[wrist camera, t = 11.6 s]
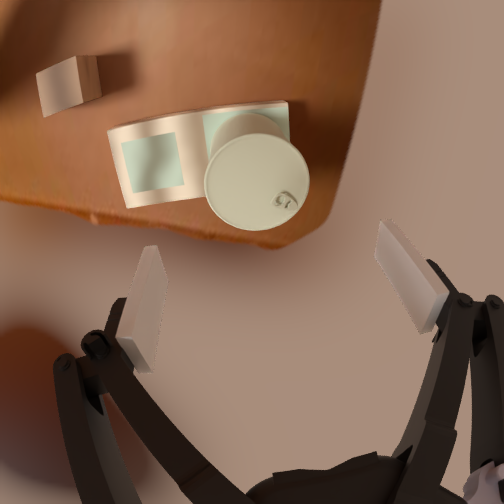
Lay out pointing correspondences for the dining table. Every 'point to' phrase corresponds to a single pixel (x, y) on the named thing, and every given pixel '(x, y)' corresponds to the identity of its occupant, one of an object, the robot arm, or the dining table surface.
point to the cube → (68, 84)
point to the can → (254, 174)
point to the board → (176, 150)
